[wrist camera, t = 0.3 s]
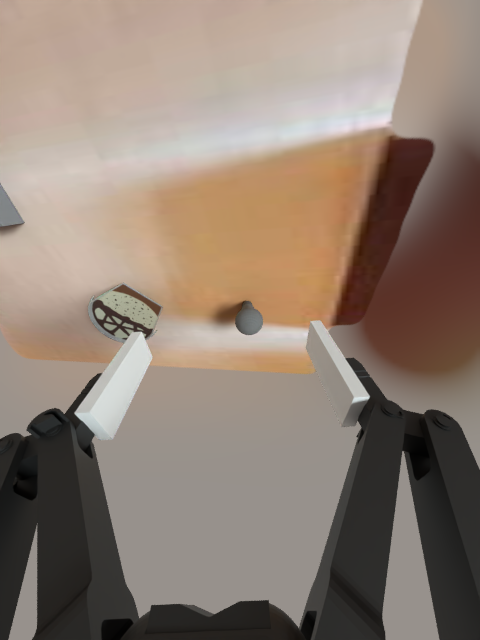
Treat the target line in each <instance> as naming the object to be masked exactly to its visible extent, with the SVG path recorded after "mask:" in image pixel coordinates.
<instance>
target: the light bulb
mask: <svg viewBox="0 0 480 640" xmlns="http://www.w3.org/2000/svg"><path fill="white" fill-rule="evenodd" d="M235 324H236V327H237V329H238V330H239V331H240V332H241V333H243V334H245V335H253V334H255V333H257V332H258V331H259V330H260V329H261V327H262V325H263V318H262V315H261V314H260V312H259V311H258V310H256V309H254V307H253V305H252V303H251V302H250V301H245V302H244V303H243V305H242V309H241V311H239V312H238V314H237V316H236V319H235Z"/></svg>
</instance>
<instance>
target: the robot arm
mask: <svg viewBox="0 0 480 640" xmlns="http://www.w3.org/2000/svg"><path fill="white" fill-rule="evenodd" d="M306 349H307V352H308V354H309V356H310V358H311V360H312V363H313V365H314V367H315V369H316V372H317V374H318V376H319V378H320V381H321V383H322V385H323V387H324V389H325V392H326V394H327V396H328V398H329V401H330V403H331V405H332V407H333V409H334V412H335V414H336V416H337V418H338V421H339V423H340V425H341V427H349V426H355V425H356V423H357V421H358V422H359V424H360V425H361V427H362V428H361V430H360V431H359V433H358V435H357V437H358V439H357V442H356V446H355V449H354V452H353V456H352V459H351V463H350V466H349V469H348V472H347V476H346V479H345V482H344V486H343V489H342V493H341V496H340V499H339V503H338V506H337V509H336V513H335V516H334V519H333V523H332V526H331V529H330V533H329V536H328V539H327V543H326V546H325V550H324V553H323V556H322V560H321V563H320V566H319V569H318V573H317V576H316V578H315V581H314V583H313V586H312V588H311V591H310V594H309V597H308V600H307V603H306V607H305V610H304V613H303V616H302V620H301V623H300V627H299V628H298V627H297V625H296V624H295V623H294V622H293V621H292V619H291V618H290V617H289V616H288V615H287V614H286V613H284V612H283V611H282V610H281V609H279V608H277V607H276V606H274V605H272V604H270V603H269V601H268V600H265V601H264V600H263V601H240V602H238V603H236V604H234V605H232V606H230V607H228V608H226V609H224V610H222V611H220V612H219V613H217V614H212V613H210V612H208V611H205V610H203V609H201V608H199V607H197V606H195V605H184V604H170V605H152V606H151V610H150V611H149V612H147V613H146V614H145V615H143V616H142V617H141V618H139V616H138V612H137V608H136V605H135V602H134V598H133V596H132V594H131V592H130V591H129V589H128V587H127V585H126V583H125V579H124V575H123V571H122V566H121V562H120V557H119V553H118V549H117V544H116V540H115V536H114V532H113V527H112V523H111V519H110V514H109V510H108V505H107V501H106V496H105V492H104V488H103V483H102V479H101V475H100V470H99V466H98V462H97V458H96V453H95V449H94V445H93V443H92V439H93V437H94V435H95V436H96V437H97V438H98V439H99V440H110V439H113V437H114V436H115V434H116V431H117V429H118V427H119V425H120V423H121V421H122V419H123V417H124V415H125V413H126V411H127V409H128V407H129V405H130V403H131V401H132V399H133V397H134V394H135V392H136V390H137V388H138V386H139V384H140V382H141V380H142V378H143V376H144V374H145V372H146V370H147V368H148V366H149V364H150V362H151V360H152V355H151V352H150V350H149V348H148V345H147V343H146V341H145V338H144V336H143V333H142V332H132V333H131V334H130V336H129V337H128V339H127V340H126V341H125V343H124V344H123V346H122V347H121V348H120V350H119V351H118V353H117V354H116V355H115V357H114V358H113V360H112V361H111V362H110V364H109V365H108V367H107V368H106V369H105V371H104V373H100V374H97V375H96V376H95V377H93V378H92V379H91V380H90V381H89V383H88V384H87V385H86V387H85V389H83V390H82V392H81V394H80V395H79V396H78V397H77V398H76V400H75V401H74V402H73V404H72V405H71V406H70V408H69V409H68V410H67V412H66V413H65V414H63V412H62V411H61V410H60V409H56V408H54V409H49V410H47V411H45V412H43V413H41V414H39V415H38V416H37V417H35V418H34V419H33V420H32V421H31V423H30V424H29V425H28V427H27V431H28V432H29V433H31V434H32V435H30V436H26V437H23V436H22V435H21V434H19V433H13V434H9V435H7V436H5V437H3V438H1V439H0V640H8V638H9V634H10V630H11V626H12V622H13V618H14V614H15V610H16V606H17V602H18V598H19V594H20V590H21V586H22V582H23V578H24V574H25V570H26V566H27V562H28V558H29V554H30V550H31V545H32V542H33V538H34V533H35V529H36V525H37V526H38V528H37V532H38V536H37V537H38V538H37V541H38V542H37V547H38V548H37V549H38V550H37V553H38V554H37V562H38V563H37V570H38V571H37V579H38V580H37V584H38V585H37V630H36V633H35V636H34V637H33V639H32V640H385V631H384V626H383V621H382V611H383V602H384V594H385V586H386V577H387V569H388V561H389V553H390V545H391V537H392V529H393V521H394V513H395V505H396V497H397V489H398V481H399V473H400V465H401V457H402V451H404V453H405V458H406V464H407V469H408V474H409V480H410V485H411V491H412V496H413V501H414V506H415V512H416V516H417V522H418V527H419V533H420V538H421V544H422V549H423V554H424V559H425V565H426V570H427V575H428V581H429V585H430V591H431V596H432V602H433V607H434V612H435V618H436V623H437V628H438V634H439V639H440V640H480V470H479V467H478V465H477V463H476V460H475V458H474V456H473V453H472V451H471V449H470V447H469V444H468V442H467V440H466V438H465V435H464V433H463V431H462V428H461V427H460V425H459V424H458V423H457V422H456V421H455V420H454V419H453V418H452V417H450V416H449V415H447V414H446V413H443V412H441V411H438V410H427V411H426V412H425V413H424V414H419V413H415V412H410V411H406V410H403V409H402V408H401V407H400V406H399V405H397V404H396V403H394V402H392V401H389V400H387V399H386V398H385V396H384V395H383V393H382V392H381V390H380V389H379V388H378V386H377V385H376V384H375V382H374V381H373V379H372V378H371V377H370V375H369V374H368V373H367V372H366V370H365V368H364V367H363V366H362V364H361V363H359V362H358V361H357V360H356V359H354V358H346V359H345V358H344V356H343V355H342V353H341V351H340V350H339V348H338V347H337V346H336V344H335V342H334V341H333V339H332V338H331V336H330V334H329V333H328V331H327V330H326V328H325V327H324V325H323V324H322V322H321V321H310V327H309V333H308V339H307V345H306ZM37 523H38V524H37Z"/></svg>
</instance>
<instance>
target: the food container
mask: <svg viewBox="0 0 480 640" xmlns="http://www.w3.org/2000/svg"><path fill="white" fill-rule="evenodd" d="M93 299H94V295H93V297H92V298H91V300H90V302H89V306H88V313H89V317H90V319H91V321H92V323H93V324H94V326H95V327H96V328H97V329H98V330H99V331H100V332H101V333H103V334H104V335H105V336H107V337H109V338H111V339H113V340H115V341H118V342H122V343H125V341H126V340H127V339H128V337H129V336H130V334H131V333H132V332H142V333H143V336H144V338H145V340H147V339H149V338H150V337H152V336H153V335H154V334H155V333H156V332H157V331H158V330H156V331H155V332H154V329H155V326H156V324H157V321H158V318H159V316H160V313H161V310H162V308H163V306H161V305H159V304H158V303H156V302H154V301H153V300H151V299H149V298H148V297H146V296H144V295H143V294H141V293H140V292H138V291H136V290H135V289H133V288H131V287H130V286H128V285H126V284H125V283H121V284H120V285H118V286H116V287H115V288H113V289H111V290H109V291H108V292H106V293H104V294H102V295H101V296H99V297H97V298H96V299H94V300H93ZM153 332H154V333H153Z"/></svg>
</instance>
